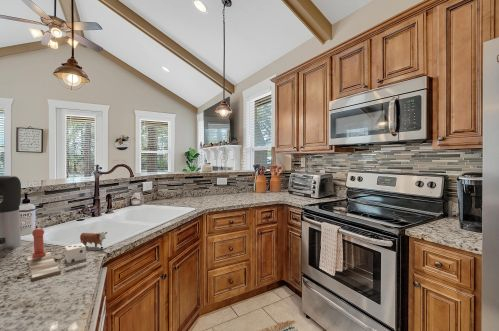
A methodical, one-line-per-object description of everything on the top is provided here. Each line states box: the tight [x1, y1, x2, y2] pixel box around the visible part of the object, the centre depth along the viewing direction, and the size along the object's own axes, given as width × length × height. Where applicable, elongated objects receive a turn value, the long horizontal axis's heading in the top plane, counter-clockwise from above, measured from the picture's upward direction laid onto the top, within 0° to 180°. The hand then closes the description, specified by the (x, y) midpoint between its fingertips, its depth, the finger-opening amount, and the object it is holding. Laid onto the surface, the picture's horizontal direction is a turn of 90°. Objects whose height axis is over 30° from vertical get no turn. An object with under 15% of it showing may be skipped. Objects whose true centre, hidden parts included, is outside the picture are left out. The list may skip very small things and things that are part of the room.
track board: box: [26, 251, 62, 282], centre depth 97 cm, size 25×8×1 cm, turn 45°
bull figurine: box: [79, 231, 108, 248], centre depth 114 cm, size 4×13×8 cm, turn 78°
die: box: [64, 242, 87, 264], centre depth 101 cm, size 6×6×6 cm
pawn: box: [31, 227, 47, 258], centre depth 104 cm, size 4×4×12 cm
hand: (0, 238), depth 93 cm, fingers open, 8 cm apart
